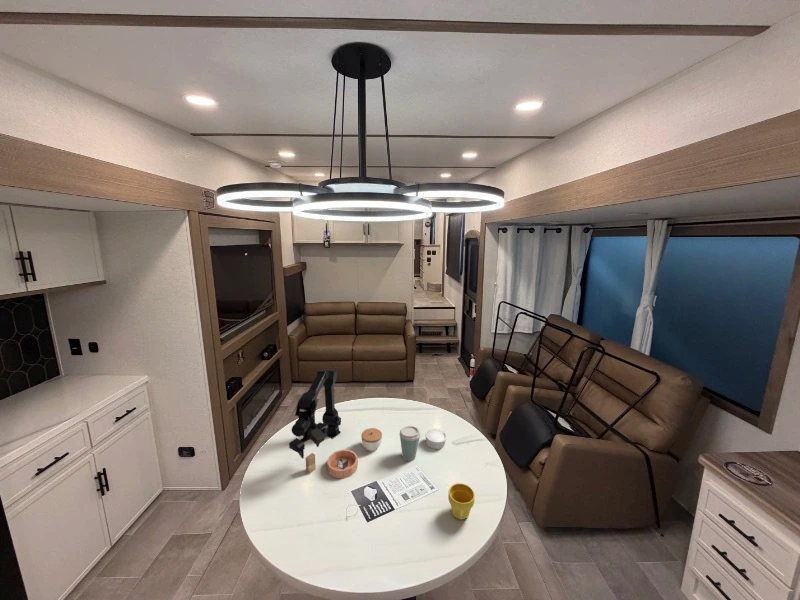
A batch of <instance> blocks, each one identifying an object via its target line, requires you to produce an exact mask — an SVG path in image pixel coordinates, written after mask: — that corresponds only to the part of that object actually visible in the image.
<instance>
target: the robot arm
mask: <svg viewBox="0 0 800 600" xmlns="http://www.w3.org/2000/svg"><path fill="white" fill-rule="evenodd" d="M337 378H338V372H337V370H335V369H328V368H327V369H326V368H323V369H322V370H321V369H319V370H317V372H316V376H315V377H314V380H313V381H312V382H311V385H310V387H309V389H308V390H307V391H306V392H304V393H302V395H301V396H300V398H299V399H298V401H297V405H296V410H295V414H294V416H295V417H298V419H297V420H296V421H295V423H294V424H293V425H292V427H291V433H292V434H293V436H295V437H296V438H294V439H293V440H291V441H290V442H289V443H288V447H289V449H290V450H292V451H294V452H296V453H297V454H298V455H299V457H300V458H301V459H304V456H305V455H304V453H305V451H304V450H305V449H306V448H305V445H306V443H307V442H308V441H310V440H311V441H312V442H313V443H314V444H315V446H316V447H317V448H319V446H320V444H321V443H322V442H324V441H325V438H326V437H329V438H331V439H334V438H336V437H337V436H338V435H339V434H340V433H341V430H340V426H341V424H342V418H341V416H339V411H338V410H337V409H336V407H335V404H336V403H335V389H334V388H335V386H334V384H335V383H336V382H337ZM322 387H324V401H325V402H324V403H325V411H324V412H323V414H322V419H321V420H322V421H321V422H318V423H316V417H315V416H316V415H315V414H316V410H317V407H318V396H319V394H320V392H321V390H322ZM301 410H302V411H301ZM297 437H298V438H297ZM300 437H302V438H300ZM299 438H300V439H299Z"/></svg>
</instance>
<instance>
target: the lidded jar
mask: <svg viewBox="0 0 800 600" xmlns="http://www.w3.org/2000/svg"><path fill="white" fill-rule="evenodd" d="M360 434H361V442H362V446H363V447H364V449H365V450H366V451H369V452H375V451H376V450H377V449H379V447H380V446H381V444H382V439H383V433H382V431H381V430H380V429H378V428H376V427H375V428H374V427H370V428H366V429H364V430H363V431H362V432H361V433H360Z"/></svg>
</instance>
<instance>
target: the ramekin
mask: <svg viewBox="0 0 800 600" xmlns="http://www.w3.org/2000/svg"><path fill="white" fill-rule="evenodd" d="M424 435H425V440H426V444H427V446H428V447H429V448H430V449H433V450H441V449H442V448H444V446H445V445H446V441H447V439H448V438H447V434H446V432H444V431H443V430H441V429H438V428H431V429H428V430H427V431H426V432H425V434H424Z"/></svg>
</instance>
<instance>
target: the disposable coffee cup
mask: <svg viewBox="0 0 800 600" xmlns="http://www.w3.org/2000/svg"><path fill="white" fill-rule="evenodd" d="M421 435H422V433H421V431H420V429H419V428H418V427H417V426H415V425H406V426H403V427H401V429H400V430H399V439H400V447H401V455H402V458H403V459H404V460H405V461H407V462H408V461H409V462H410V461H411V462H412V461H414V460H415V459H416V457H417V451H418V447H419V442H420V438H421Z"/></svg>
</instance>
